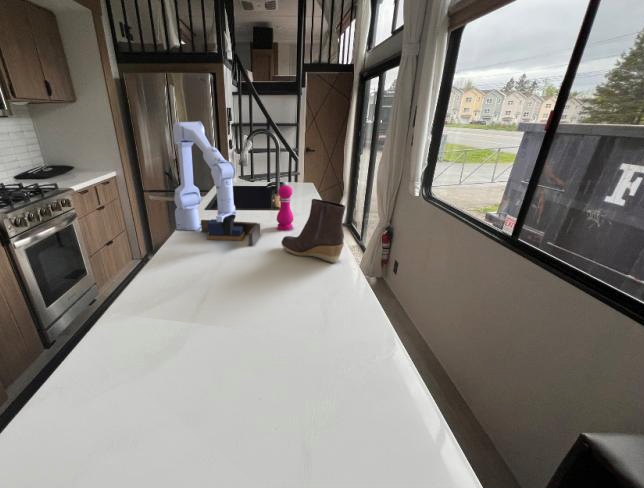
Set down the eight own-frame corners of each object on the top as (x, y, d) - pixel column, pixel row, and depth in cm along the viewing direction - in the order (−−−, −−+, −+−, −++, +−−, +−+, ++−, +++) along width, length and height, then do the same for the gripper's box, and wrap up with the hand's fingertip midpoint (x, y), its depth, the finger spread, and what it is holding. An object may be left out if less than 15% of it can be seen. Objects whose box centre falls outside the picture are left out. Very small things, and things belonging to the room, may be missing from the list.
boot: (289, 243, 124) (290, 191, 116) (347, 258, 111) (353, 200, 102) (276, 250, 118) (276, 195, 109) (336, 267, 105) (341, 206, 96)
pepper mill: (274, 230, 138) (274, 183, 129) (279, 225, 144) (279, 179, 136) (291, 231, 136) (291, 183, 127) (295, 226, 142) (295, 180, 134)
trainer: (207, 239, 130) (205, 223, 127) (212, 234, 135) (210, 219, 132) (241, 240, 128) (240, 224, 125) (244, 235, 133) (244, 220, 130)
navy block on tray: (190, 241, 128) (188, 229, 125) (203, 230, 139) (202, 219, 137) (252, 245, 123) (252, 233, 120) (260, 234, 134) (260, 222, 132)
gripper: (229, 204, 106) (232, 242, 112) (242, 194, 119) (244, 229, 125) (209, 203, 108) (212, 241, 114) (224, 193, 121) (226, 228, 126)
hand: (228, 235), depth 119 cm, fingers closed
